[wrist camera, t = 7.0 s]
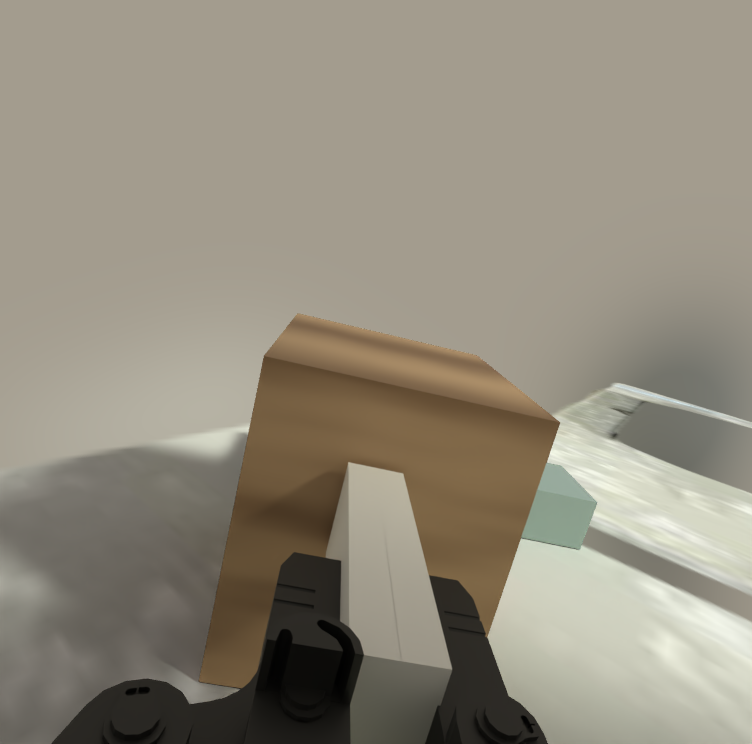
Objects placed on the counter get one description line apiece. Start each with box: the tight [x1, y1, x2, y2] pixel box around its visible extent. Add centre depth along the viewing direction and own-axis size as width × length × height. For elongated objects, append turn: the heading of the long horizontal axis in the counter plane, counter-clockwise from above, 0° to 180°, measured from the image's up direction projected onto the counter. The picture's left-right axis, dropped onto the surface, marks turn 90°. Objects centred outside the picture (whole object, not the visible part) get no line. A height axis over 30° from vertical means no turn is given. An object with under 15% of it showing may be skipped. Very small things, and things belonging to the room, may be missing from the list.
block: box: [199, 314, 560, 688], centre depth 19 cm, size 9×8×10 cm
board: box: [521, 463, 597, 549], centre depth 30 cm, size 5×18×3 cm, turn 93°
